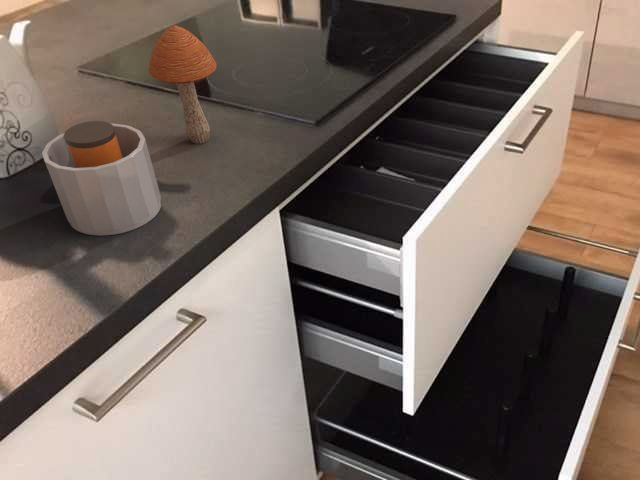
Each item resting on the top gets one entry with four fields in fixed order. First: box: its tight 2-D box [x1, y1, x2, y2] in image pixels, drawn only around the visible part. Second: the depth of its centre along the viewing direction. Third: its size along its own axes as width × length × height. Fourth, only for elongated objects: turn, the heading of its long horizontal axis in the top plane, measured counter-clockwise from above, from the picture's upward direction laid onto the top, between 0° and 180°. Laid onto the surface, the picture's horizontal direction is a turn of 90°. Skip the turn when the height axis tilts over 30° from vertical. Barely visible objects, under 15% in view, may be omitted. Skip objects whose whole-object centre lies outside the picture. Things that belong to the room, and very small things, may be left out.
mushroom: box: [148, 24, 218, 144], centre depth 81 cm, size 8×8×15 cm
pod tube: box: [63, 120, 123, 168], centre depth 70 cm, size 5×5×9 cm
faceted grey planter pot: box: [41, 122, 162, 237], centre depth 71 cm, size 10×10×8 cm
